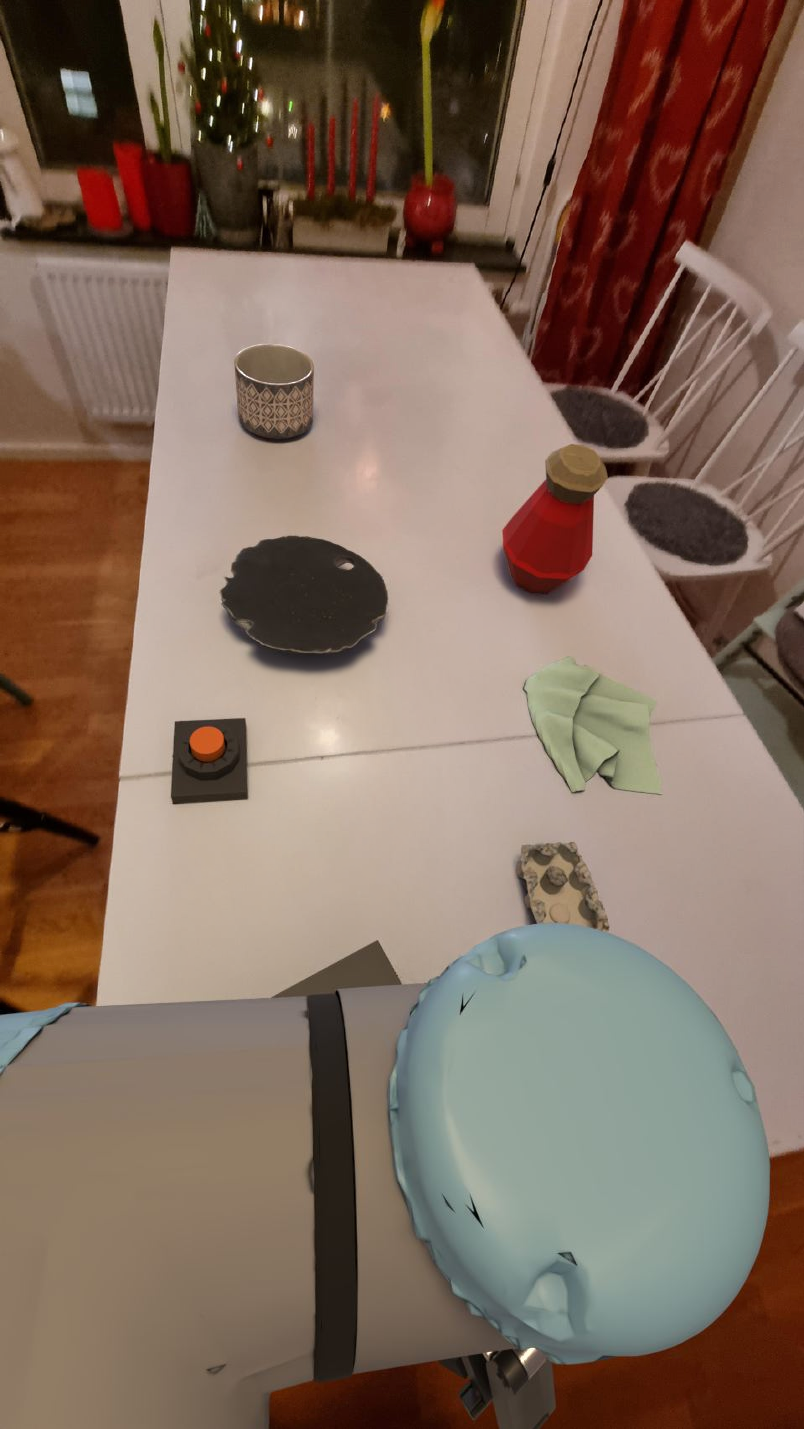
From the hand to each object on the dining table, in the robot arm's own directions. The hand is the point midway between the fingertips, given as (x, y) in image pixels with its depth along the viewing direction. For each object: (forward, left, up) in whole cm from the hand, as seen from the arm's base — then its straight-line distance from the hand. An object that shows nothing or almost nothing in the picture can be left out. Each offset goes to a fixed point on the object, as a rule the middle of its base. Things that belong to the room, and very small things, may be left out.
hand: (384, 1213), depth 41 cm
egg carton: (+34, -3, -19) cm, 39 cm away
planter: (+88, +72, -19) cm, 115 cm away
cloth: (+58, +1, -19) cm, 61 cm away
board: (+53, +42, -19) cm, 70 cm away
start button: (+27, +37, -16) cm, 49 cm away
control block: (+27, +37, -19) cm, 50 cm away
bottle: (+81, +19, -19) cm, 85 cm away
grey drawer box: (+8, +8, -19) cm, 22 cm away
